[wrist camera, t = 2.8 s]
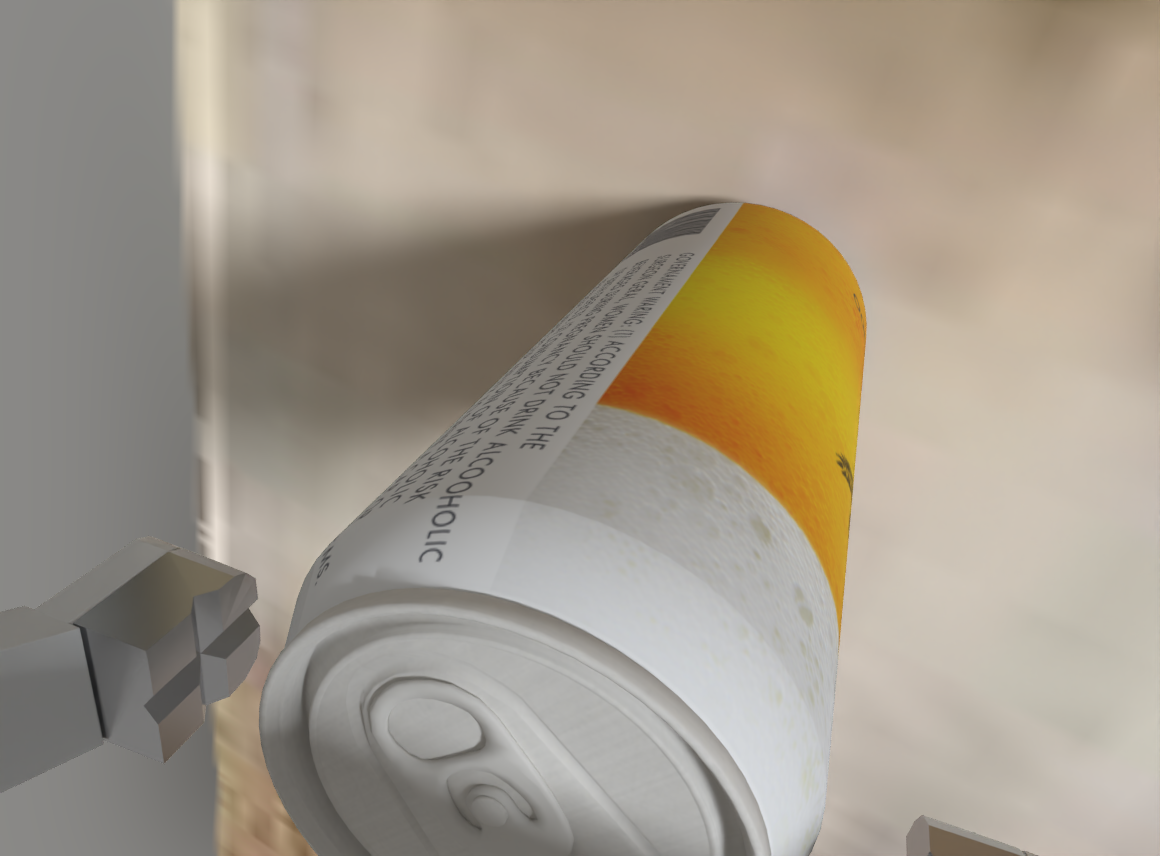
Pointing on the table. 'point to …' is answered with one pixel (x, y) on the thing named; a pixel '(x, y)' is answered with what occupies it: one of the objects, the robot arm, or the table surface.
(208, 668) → the robot arm
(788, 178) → the table surface
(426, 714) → the beer can
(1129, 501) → the table surface
